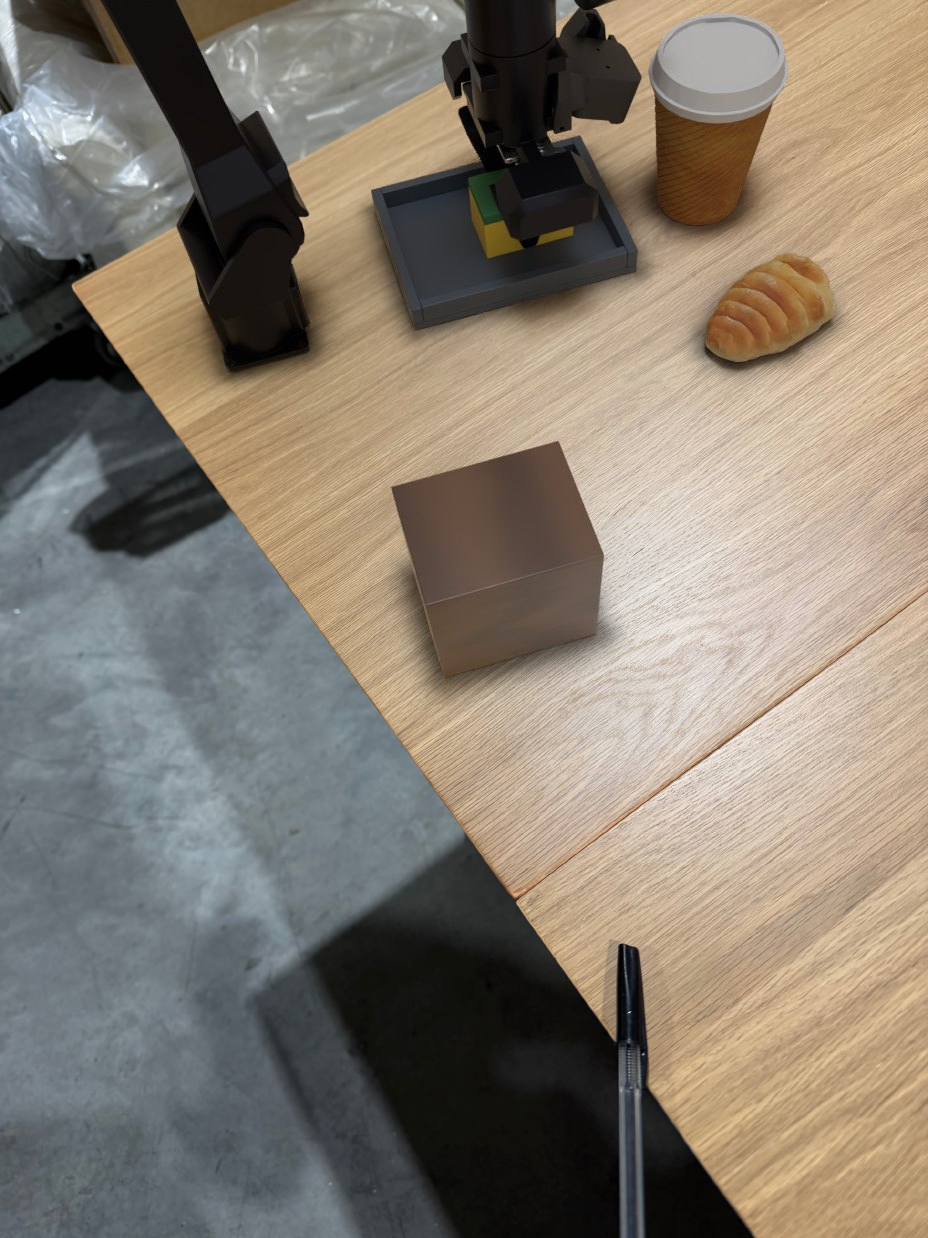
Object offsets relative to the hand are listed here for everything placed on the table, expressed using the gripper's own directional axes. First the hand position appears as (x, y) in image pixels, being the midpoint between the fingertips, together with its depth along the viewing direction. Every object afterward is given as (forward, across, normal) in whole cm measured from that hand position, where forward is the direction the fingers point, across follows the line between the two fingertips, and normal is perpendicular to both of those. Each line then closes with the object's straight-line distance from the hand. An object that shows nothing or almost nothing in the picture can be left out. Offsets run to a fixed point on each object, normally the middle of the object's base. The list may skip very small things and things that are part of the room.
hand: (520, 224), depth 76 cm
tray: (+1, 0, +2) cm, 2 cm away
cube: (+1, -31, +11) cm, 33 cm away
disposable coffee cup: (+1, -1, -14) cm, 14 cm away
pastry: (+1, -15, -14) cm, 21 cm away
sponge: (0, 0, 0) cm, 0 cm away
